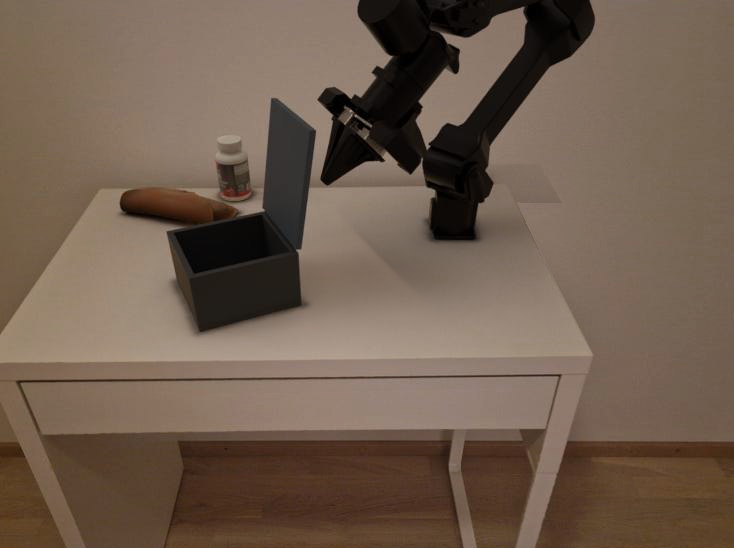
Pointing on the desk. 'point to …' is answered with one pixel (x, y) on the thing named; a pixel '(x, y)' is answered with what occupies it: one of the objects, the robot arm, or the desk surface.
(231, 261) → the desk case
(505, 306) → the desk surface
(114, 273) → the desk surface
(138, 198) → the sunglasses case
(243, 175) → the pill bottle
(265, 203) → the cover
